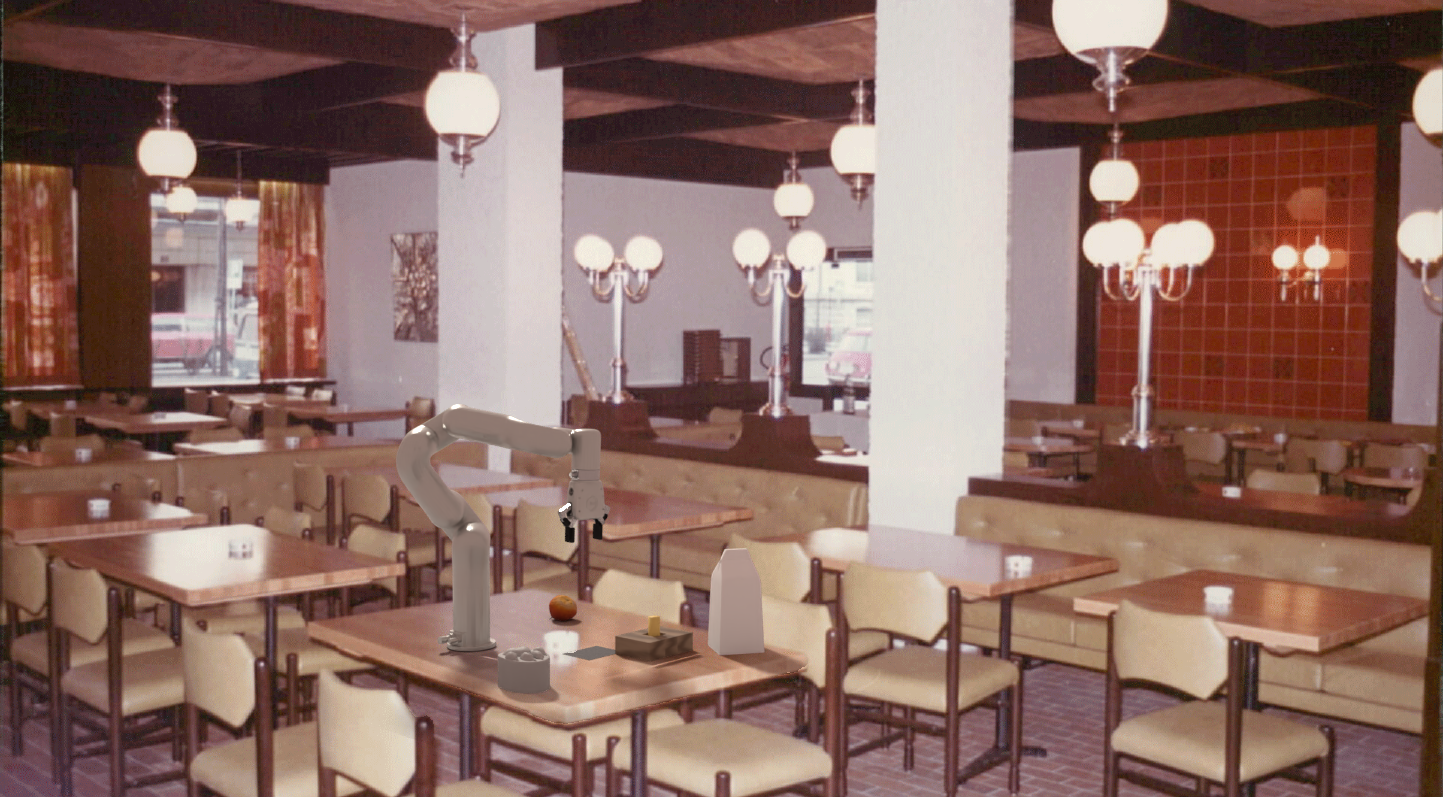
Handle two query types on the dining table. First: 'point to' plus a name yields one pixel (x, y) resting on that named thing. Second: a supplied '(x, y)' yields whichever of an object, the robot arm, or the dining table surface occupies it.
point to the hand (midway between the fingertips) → (583, 540)
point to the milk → (735, 605)
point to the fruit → (562, 608)
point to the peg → (654, 626)
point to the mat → (592, 653)
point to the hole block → (653, 644)
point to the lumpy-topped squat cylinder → (524, 670)
